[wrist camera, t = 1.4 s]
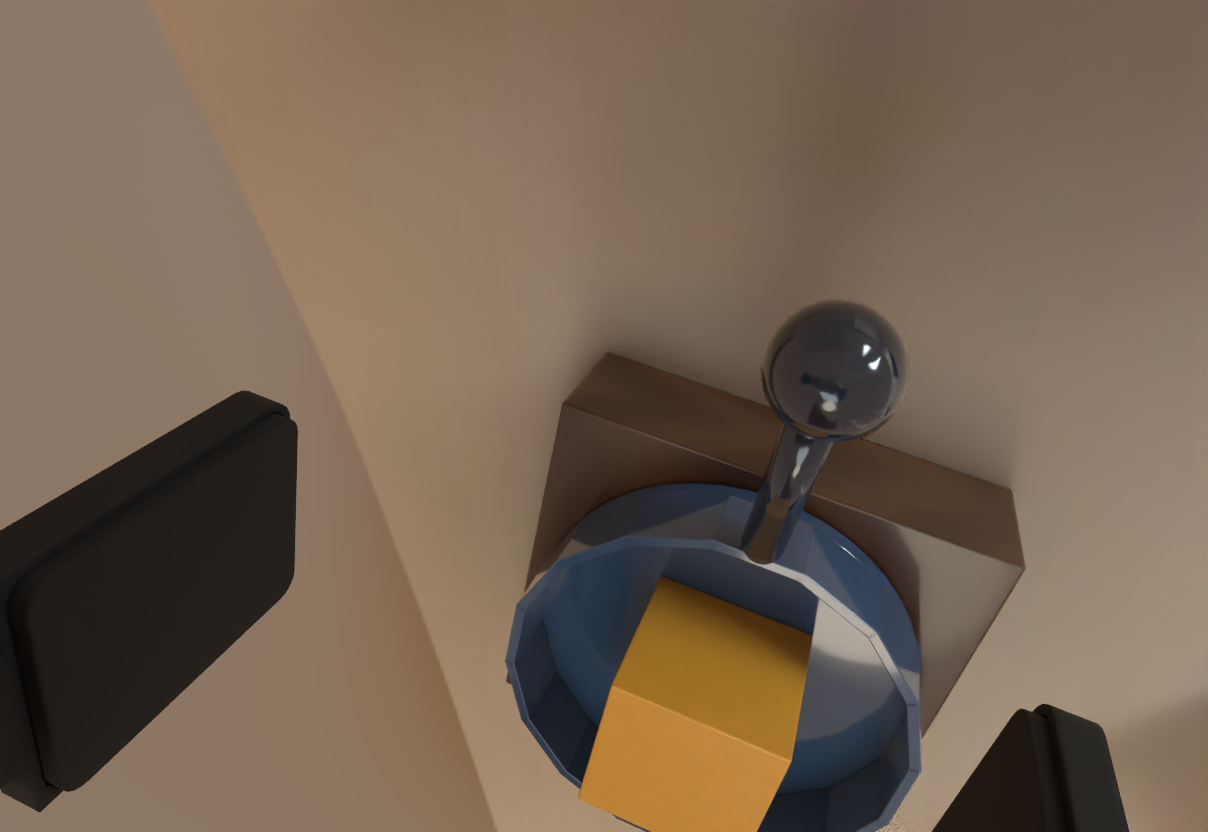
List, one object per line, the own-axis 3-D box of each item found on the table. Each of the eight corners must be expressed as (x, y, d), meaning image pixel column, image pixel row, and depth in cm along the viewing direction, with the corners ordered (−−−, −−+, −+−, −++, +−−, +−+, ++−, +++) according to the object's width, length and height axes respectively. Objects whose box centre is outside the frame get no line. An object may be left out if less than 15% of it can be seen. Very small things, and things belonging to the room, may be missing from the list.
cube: (813, 634, 23) (792, 761, 20) (765, 739, 26) (737, 872, 22) (661, 575, 24) (610, 685, 20) (627, 681, 27) (577, 799, 23)
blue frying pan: (1136, 327, 18) (1210, 444, 13) (839, 836, 27) (821, 1008, 23) (633, 178, 20) (546, 234, 15) (520, 698, 30) (445, 829, 25)
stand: (1013, 489, 25) (1027, 568, 21) (870, 744, 31) (863, 837, 27) (606, 351, 27) (561, 402, 24) (547, 612, 33) (504, 682, 30)
